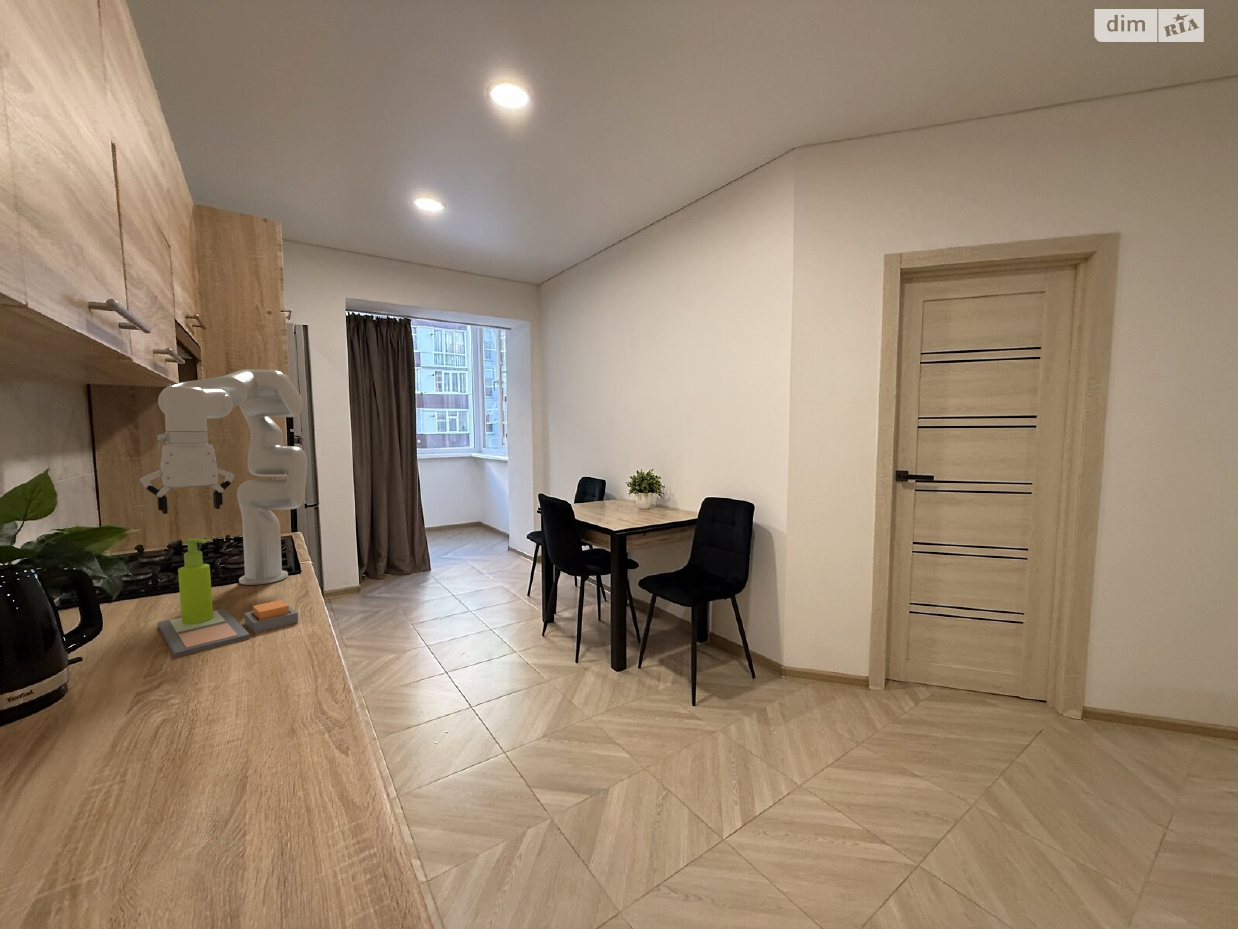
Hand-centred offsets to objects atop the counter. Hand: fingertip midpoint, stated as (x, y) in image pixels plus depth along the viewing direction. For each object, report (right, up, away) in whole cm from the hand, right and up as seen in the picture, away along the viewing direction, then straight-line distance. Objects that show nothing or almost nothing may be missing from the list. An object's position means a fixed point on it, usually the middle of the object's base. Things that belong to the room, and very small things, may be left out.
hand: (191, 510), depth 121 cm
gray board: (+4, -29, -2) cm, 29 cm away
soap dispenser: (0, -27, +3) cm, 27 cm away
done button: (+16, -26, +4) cm, 31 cm away
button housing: (+16, -28, +4) cm, 33 cm away
